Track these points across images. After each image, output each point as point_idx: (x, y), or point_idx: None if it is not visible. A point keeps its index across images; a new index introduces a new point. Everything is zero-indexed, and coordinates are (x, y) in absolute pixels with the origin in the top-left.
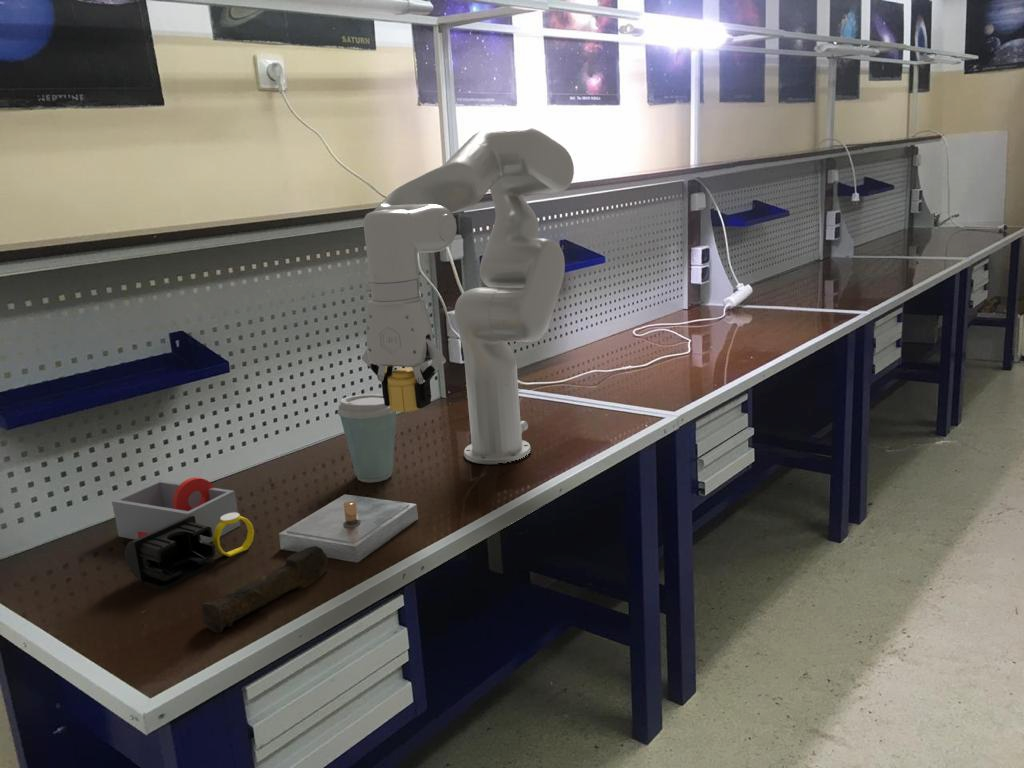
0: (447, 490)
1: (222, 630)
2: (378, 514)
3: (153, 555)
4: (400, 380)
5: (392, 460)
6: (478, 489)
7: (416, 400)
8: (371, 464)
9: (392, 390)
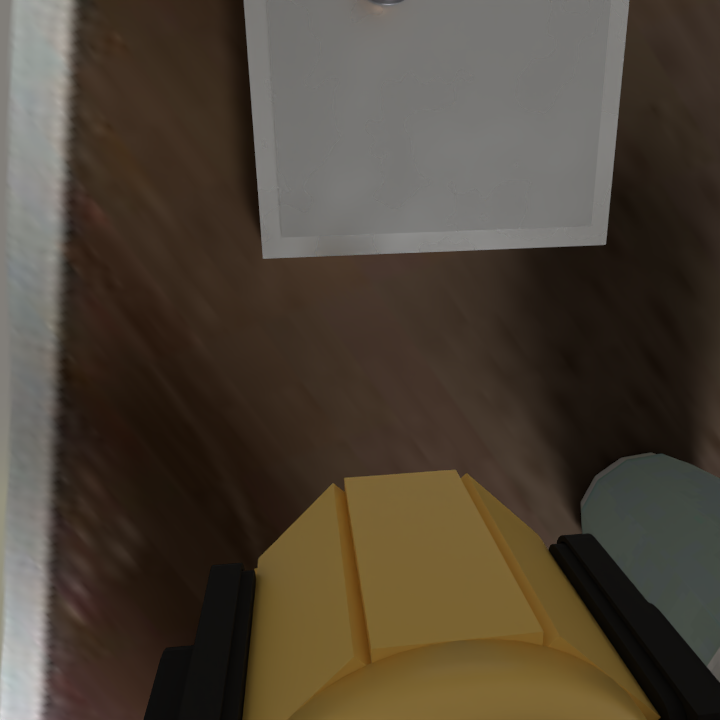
0: (320, 494)
1: None
2: (340, 98)
3: None
4: None
5: None
6: (221, 536)
7: (242, 610)
8: (643, 489)
9: (499, 598)
